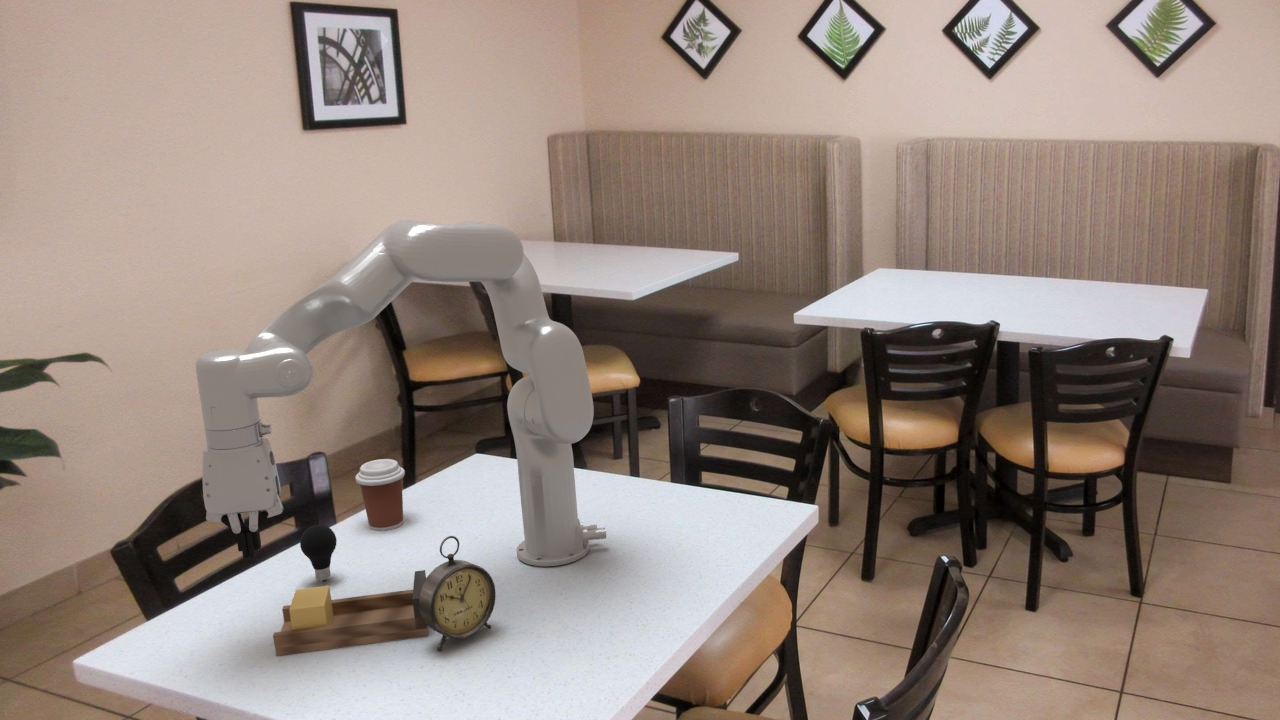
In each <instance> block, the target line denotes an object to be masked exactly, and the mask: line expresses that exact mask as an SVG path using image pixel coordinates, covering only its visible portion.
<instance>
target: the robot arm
mask: <svg viewBox="0 0 1280 720" xmlns="http://www.w3.org/2000/svg"><path fill="white" fill-rule="evenodd" d="M414 280H421V281H426V282H427V281H428V282H445V283H458V282H460V283H463V282H464V283H466V282H467V283H470V282H478V283H481V284H482V285H483V287H484V288H485V290H486V293H487V295H488V297H489V300H490V303H491V304H490V305H491V307H492V312H493V314H494V320H495V323H496V328H497V329H496V330H497V334H498V338H499V342H500V348H501V349H500V350H501V353H502V356H503V358H504V360H505V362H506V363H507V364H508V365H509V367H511V368H512V369H515V370H517V371H519V372H521V373H524V374H526V375H527V376H525V377H524V376H523V377H522V378H521V379H519V380H517V381H516V382H515V384H514V385H513V386H512V388H511V389H510V391H509V393H508V397H507V403H506V408H507V415H508V421H509V425H510V428H511V433H512V436H513V440H514V441H513V442H514V446H515V453H516V460H517V461H516V462H517V469H518V471H517V474H518V484H519V485H518V486H519V494H520V495H519V496H520V505H521V514H522V526H523V527H522V528H523V536H524V537H523V538H524V540H523V541H522V542H521V543H519V544H518V546H517V548H516V555H517V556H516V557H517V558H518V559H519V561H521V562H523V563H524V564H526V565H530V566H536V567H557V566H563V565H567V564H570V563H574V562H576V561H578V560H580V559H582V558H583V557H585V556H586V555H587V554H588V553H589V551H590V543H589V542H590V541H595V540H596V541H598V540H606V539H607V530H606V527H600V528H599V527H598V526H597V525H598V524H590V525H586V526H585V525H583V524H582V525H581V522H580V519H579V516H578V515H579V514H578V505H577V504H578V503H577V502H578V501H577V491H576V479H575V465H574V453H573V447H572V444H575V443H577V442H579V441H581V440H582V439H583V438H584V437H585V436H586V435H587V434H588V433H589V432H590V430H591V428H592V424H593V420H594V413H595V412H594V411H595V410H594V409H595V407H594V401H593V395H592V389H591V385H590V379H589V373H588V370H587V363H586V357H585V355H584V350H583V346H582V345H581V342H580V340H579V338H578V337H577V335H576V334H575V333H574V331H573V330H572V329H571V328H569V327H568V326H566V325H565V324H564V323H561V322H558V321H554V320H552V319H551V318H550V317H549V313H548V310H547V305H546V302H545V299H544V298H545V297H544V294H543V291H542V286H541V283H540V279H539V277H538V275H537V272H536V269H535V267H534V266H533V264H532V262H531V261H530V259H529V258H528V256H527V255H526V254H525V252H524V246H523V243H522V241H521V239H520V238H519V236H518V235H517V234H516V233H515V232H514V231H513V230H511V229H510V228H508V227H507V226H503V225H498V224H492V223H486V222H481V221H474V220H464V221H461V222H457V223H455V224H453V225H452V224H440V223H432V222H431V223H430V222H424V221H418V220H411V219H402V220H398V221H395V222H393V223H391V224H390V225H388V226H386V228H384V229H383V230H381V232H380V233H379V234H378V235H377V236H376V237H375V238H374V239H372V240H371V241H370V242H369V243H368V244H367V245H366V246H364V248H363V249H362V250H361V251H359V252H358V253H357V254H356V255H355V256H354V257H353V258H352V259H351V260H350V261H349V262H347V263H346V264H345V265H344V266H343V267H342V268H341V269H340V270H339V271H338V272H337V273H335V275H334V276H332V277H331V278H330V279H329V280H327V281H326V282H324V283H322V284H321V285H320V286H318V287H316V288H314V289H313V290H312V291H310V292H309V293H308V294H306V295H305V296H302V297H301V298H300V299H298V300H297V301H295V302H294V303H292V304H291V305H289V306H287V308H285V309H284V310H283V311H281V313H280V314H278V315H277V316H276V317H275V318H274V319H272V320H271V321H270V322H269V324H267V325H266V326H265V327H264V328H263V329H262V330H260V331H259V333H257V334H256V335H255V336H254V338H253V339H252V340H251V341H250V342H249V343H248V345H247V347H246V348H245V350H243V349H238V348H228V349H227V348H225V349H218V350H213V351H209V352H206V353H204V354H201V355H200V356H199V357H198V358H197V359H196V362H195V372H196V373H195V374H196V379H197V386H198V393H199V394H198V395H199V399H200V401H199V402H200V407H201V412H202V421H203V427H204V433H205V441H206V445H204V446H203V448H202V459H201V460H202V463H201V466H202V467H201V470H202V471H201V473H202V475H201V476H202V492H203V493H202V494H203V501H204V502H203V503H204V508H205V510H206V513H205V514H206V516H205V519H206V521H207V522H210V523H211V522H212V523H222V524H223V525H225V526H226V527H228V528H229V529H230V530H231V531H232V532H233V534H235V536H236V537H235V538H236V542H237V550H238V552H239V553H240V552H242V553H241V554H242V558H243V559H244V560H246V559H248V558H251V559H253V558H256V556H257V553H258V552H259V550H261V548H262V540H261V539H262V538H261V534H260V533H261V532H260V527H261V525H263V523H264V522H265V521H266V520H267V519H268V518H272V517H275V516H278V515H281V514H282V513H283V510H284V506H283V503H282V501H281V495H282V489H281V483H280V478H279V473H278V469H277V463H276V459H275V455H274V451H273V448H272V445H271V443H270V440H269V439H268V438H265V437H264V436H266V435H270V434H273V433H272V429H273V428H272V425H271V424H265V423H263V422H262V419H260V411H259V410H260V409H259V403H258V399H259V398H260V399H261V398H262V399H263V398H283V397H285V398H287V397H291V396H294V395H297V394H299V393H301V392H303V391H304V390H305V389H306V388H307V387H308V386H309V385H310V383H311V382H312V380H313V377H314V366H313V363H312V360H311V358H310V356H309V355H307V354H308V353H310V352H311V351H312V350H313V349H315V348H316V346H318V345H319V344H321V343H322V342H323V341H325V340H326V339H329V338H331V336H334V335H336V334H338V333H341V332H343V331H346V330H347V331H348V330H351V329H355V328H358V327H361V326H363V325H366V324H368V323H369V322H372V321H373V320H374V319H375V318H376V317H377V316H378V315H379V314H380V313H381V312H382V311H384V309H385V308H387V306H388V305H390V303H391V302H392V301H393V300H394V299H396V298H397V297H398V296H399V295H400V294H401V293H402V292H403V291H404V290H405V289H406V288H407V287H408V286H409V285H411V284H412V282H414ZM244 513H246V514H247V513H249V515H248V518H249V519H248V522H249V523H248V525H247V523H245V520H244V517H243V514H244Z"/></svg>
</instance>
